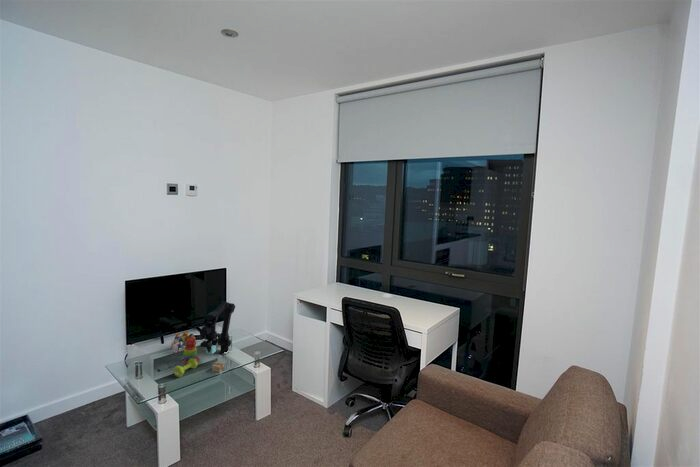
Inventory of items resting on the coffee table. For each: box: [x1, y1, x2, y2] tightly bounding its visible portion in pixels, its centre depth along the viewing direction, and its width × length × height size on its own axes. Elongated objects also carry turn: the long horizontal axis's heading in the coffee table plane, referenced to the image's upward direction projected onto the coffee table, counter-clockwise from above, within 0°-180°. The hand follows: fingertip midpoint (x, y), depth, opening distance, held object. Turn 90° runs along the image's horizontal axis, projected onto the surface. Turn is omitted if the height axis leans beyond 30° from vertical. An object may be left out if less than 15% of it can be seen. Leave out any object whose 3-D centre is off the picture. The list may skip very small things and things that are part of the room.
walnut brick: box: [211, 361, 225, 373], centre depth 253 cm, size 6×6×4 cm
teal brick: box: [205, 344, 217, 355], centre depth 261 cm, size 5×5×4 cm
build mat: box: [207, 368, 223, 375], centre depth 254 cm, size 10×10×1 cm
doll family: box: [170, 331, 196, 355], centre depth 281 cm, size 21×10×13 cm, turn 150°
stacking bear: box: [183, 337, 201, 365], centre depth 263 cm, size 11×10×18 cm
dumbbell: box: [173, 358, 199, 378], centre depth 249 cm, size 16×8×7 cm, turn 159°
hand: (211, 350), depth 261 cm, fingers closed on teal brick, 5 cm apart
